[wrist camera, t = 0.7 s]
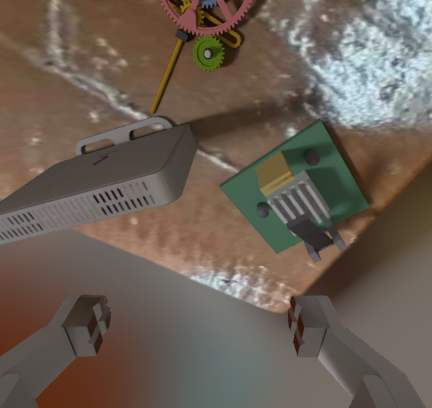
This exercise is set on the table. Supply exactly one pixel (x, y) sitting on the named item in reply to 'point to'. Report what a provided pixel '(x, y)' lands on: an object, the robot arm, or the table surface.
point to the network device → (102, 182)
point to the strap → (310, 232)
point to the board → (297, 189)
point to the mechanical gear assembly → (201, 34)
